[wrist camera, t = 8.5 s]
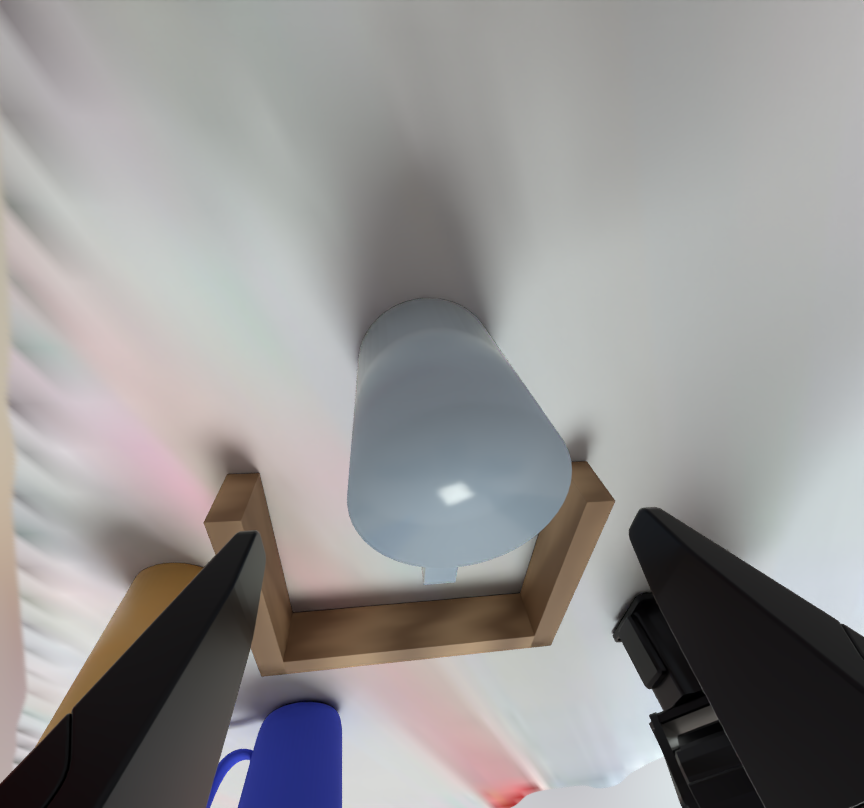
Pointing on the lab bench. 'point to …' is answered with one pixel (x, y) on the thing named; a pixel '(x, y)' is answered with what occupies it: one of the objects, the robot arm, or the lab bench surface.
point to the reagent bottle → (127, 626)
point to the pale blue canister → (447, 444)
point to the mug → (291, 760)
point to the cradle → (419, 621)
